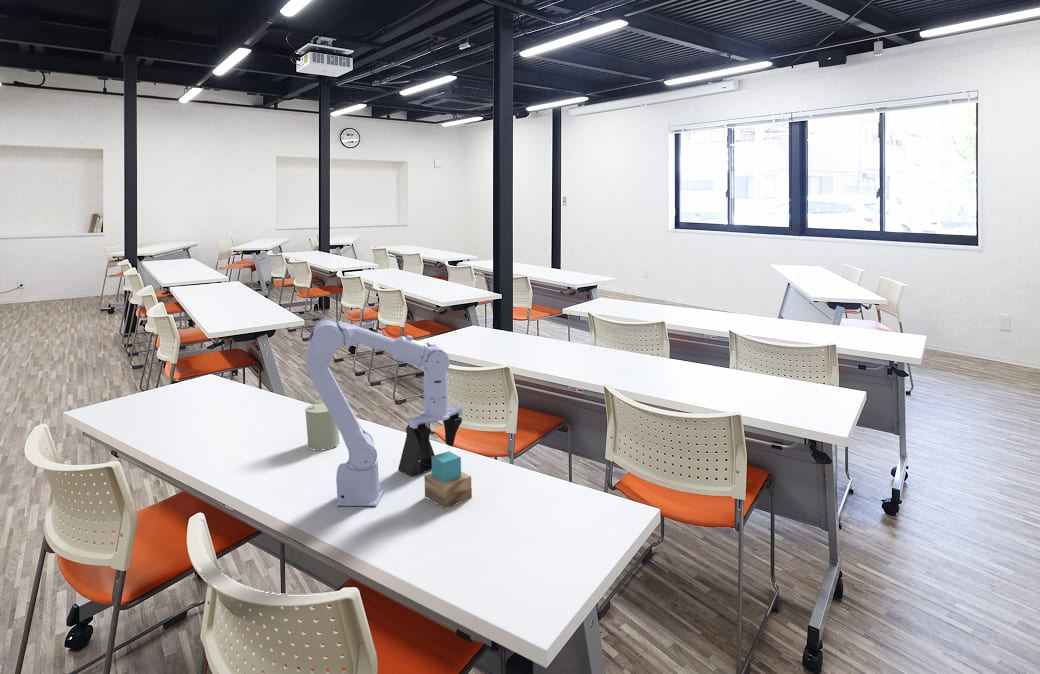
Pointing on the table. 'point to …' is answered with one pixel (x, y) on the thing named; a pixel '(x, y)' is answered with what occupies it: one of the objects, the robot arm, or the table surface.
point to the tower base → (448, 500)
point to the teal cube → (446, 466)
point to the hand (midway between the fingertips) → (437, 449)
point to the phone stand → (414, 456)
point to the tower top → (447, 485)
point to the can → (321, 428)
